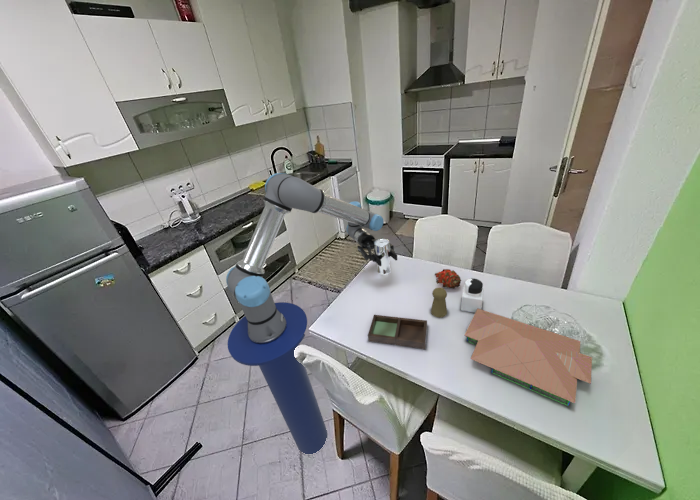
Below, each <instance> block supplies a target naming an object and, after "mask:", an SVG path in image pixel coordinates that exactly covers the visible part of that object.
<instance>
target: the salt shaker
mask: <svg viewBox="0 0 700 500" xmlns="http://www.w3.org/2000/svg"><path fill="white" fill-rule="evenodd" d="M431 294H432V297H433V300H432V304H431V309H430V314H431V316H433V317H435V318H441V319H442V318H445V317H446V316H447V315H448V309H447V301H446V300H447V296H448V292H447V290H446V289H445V288H444V287H439V286H438V287H435V288H434V289H433V290H432V293H431Z"/></svg>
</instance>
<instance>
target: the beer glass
mask: <svg viewBox="0 0 700 500" xmlns="http://www.w3.org/2000/svg"><path fill="white" fill-rule="evenodd" d="M390 244H391V243H390V240H389V239H386V238H383V239H381V238H378V239H377V240H376V241H375V242H374V249H373V252H374V253H373V254H375V255H376V256H377V257H378V258H379V259H380V260H381V264H382V266H379V265H378V264H377V263H376V264H377V270H376V272H377V274H378V275H380V276H387V275H389V274H391V272H392V269H391V265H390V263H391V256H390V255H391V250H390Z"/></svg>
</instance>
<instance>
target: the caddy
mask: <svg viewBox="0 0 700 500" xmlns="http://www.w3.org/2000/svg"><path fill="white" fill-rule="evenodd" d="M427 332H428V320H426V319H416V318H407V317H400V316H399V317H398V316H389V315H380V314H373V317H372V321H371V323H370V326H369V330H368V333H367V340H368V342H372V343H379V344H386V345H393V346H399V347H407V348H412V349H413V348H414V349H419V350H420V349H422V350H426V346H427V345H426V344H427Z"/></svg>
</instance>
